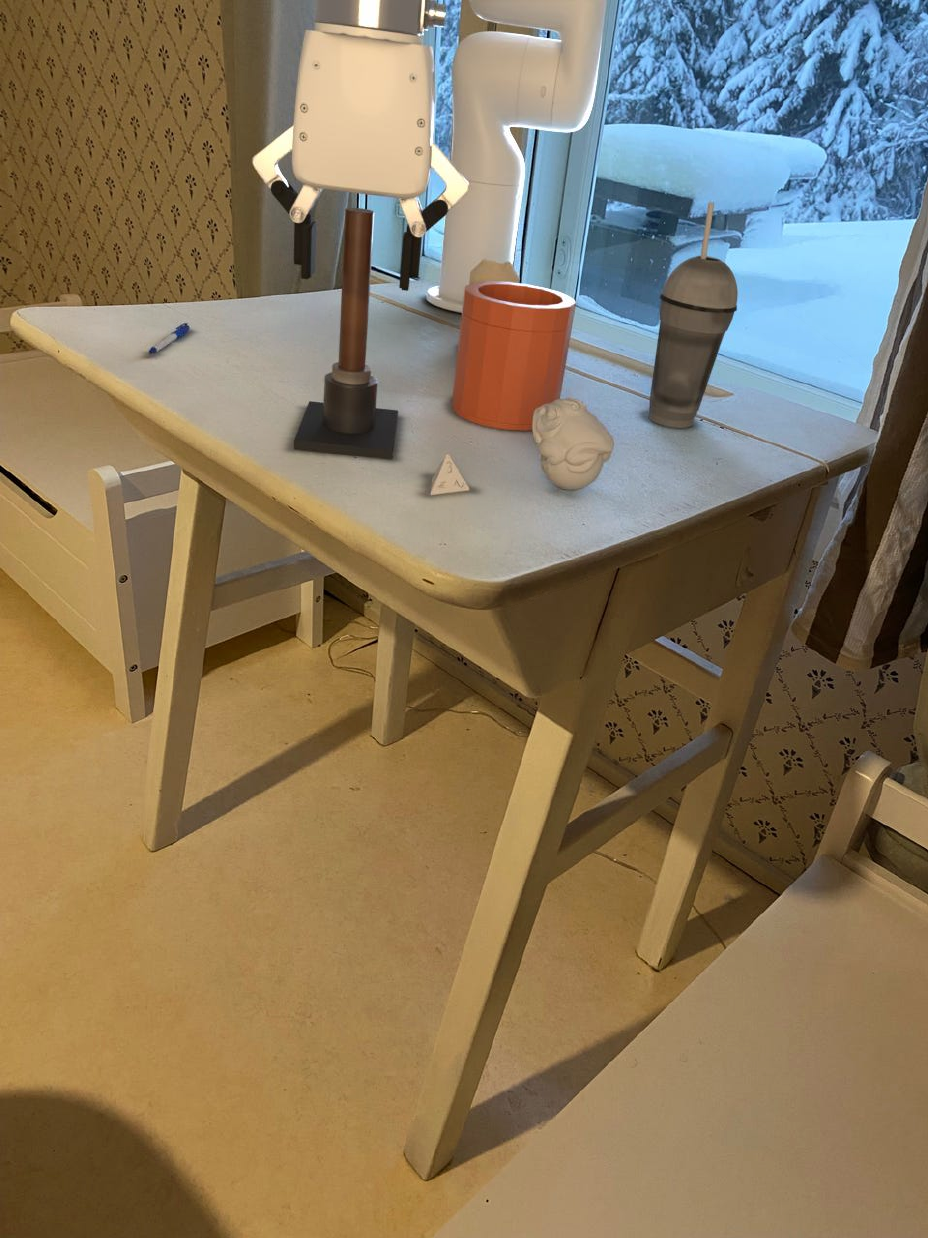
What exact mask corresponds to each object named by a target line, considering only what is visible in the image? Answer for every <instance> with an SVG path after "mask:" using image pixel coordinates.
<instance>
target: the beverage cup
mask: <svg viewBox="0 0 928 1238" xmlns="http://www.w3.org/2000/svg"><path fill="white" fill-rule="evenodd" d="M714 208H715V202H710V201H709V202H708V205H707V211H706V217H705V223H704V224H705V225H704V231H703V236H702V244H701V249H700V255H697V256H693V257H690V258H687V259H685V260H684V261H682V262H680V263H679V264H678V265H676V267H675V268H674V269H673V270H672V271H671V272H670V274H669V275H668V277H667V278H666V280H665V282H664V285H663V288H662V291H661V293H660V295H659V299H660V304H659V329H658V336H657V343H656V351H655V358H654V365H653V366H654V367H653V372H652V380H651V387H650V394H649V406H648V407H649V408H648V414H647V418H648V419H649V420H650V421H651V422H653V423H656V424H657V425H660V426H664V427H668V428H676V429H685V428H687V429H688V428H691V427H692V426H693V424H694V421H695V419H696V416H697V414H698V411H699V409H700V407H701V404H702V400H703V398H704V395H705V392H706V389H707V387H708V383H709V380H710V378H711V374H712V371H713V369H714V366H715V363H716V360H717V357H718V355H719V351H720V348H721V345H722V343H723V341H724V338H725V337H724V336H725V334H726V332H727V331H728V330H729V327H730V326H731V323H732V321H733V318H734V315H735V312H737V311H738V305H737V304H738V296H739V295H738V294H739V290H738V283H737V281H736V278H735V274H734V272H733V270H732V269H731V268H730V266H729V265H727V263H725V262H724V261H723V260H721V259H719V258H717V257H714V256H708V248H709V242H710V235H711V228H712V222H713V214H714Z"/></svg>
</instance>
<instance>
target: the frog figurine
mask: <svg viewBox="0 0 928 1238" xmlns="http://www.w3.org/2000/svg"><path fill="white" fill-rule="evenodd" d="M531 431H532V436H533V439H534V444H536V445H538V446H537V450H538V453H539V455H540V466H541V469H542V472H543V474H544V476H545V477H546V478H547V479H548V481H549V482H550V483H551V484H553V485H554V486H556V487H558V488H559V489H563V490H567V491H576V490H581V489H584V488H585V487H588V486H589V485H591V484H592V483H594V482H595V481H596V479H598V477H599V475H600V474H601V472H602V470H603V468H604V467H603V466H604V465H605V464H604V463H606V462H608V461H609V459H610V458H611V456H612V453H613V450H614V446H615V441H614V438H613V436H612V435H611V433H610V432H609V431H608V429H607V427H606V426H605V425H604V423H603V422H601V420H599V419H598V417H597V416H596V415H595V414H594V413H592V412H591V411H589V410H588V409H587V405H586V404H585V403H584V402H583V401H580V400H579V399H577V398H575V397H564V398H560V399H557V400H555V401H553V402H552V403H548V404H544V405H543V406H541V407H538V408H537V409H536V410H535V411H534V414H533V422H532V430H531Z"/></svg>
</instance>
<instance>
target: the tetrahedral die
mask: <svg viewBox="0 0 928 1238" xmlns="http://www.w3.org/2000/svg"><path fill="white" fill-rule="evenodd" d="M430 485H431V486H430V496H438V495H446V494H454V493H462V492H468V491H470V487H469V485H468V484H467V482H466V479H465V478H464V477H463V475H462V473H461V472H460V470H459V468H458V467H457V465H456V464H455V462H454V460H453V458H452V457H451V455H450V453H446V455H445V456H444V457H443V459H442V461H441V462H440V464H439V466H438V468H437V469H436V470H435V472H434V474H433V475H432V477H431V484H430Z"/></svg>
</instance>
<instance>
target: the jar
mask: <svg viewBox="0 0 928 1238" xmlns="http://www.w3.org/2000/svg"><path fill="white" fill-rule="evenodd" d="M576 307H577V302H576V301H575V298H573V297H571V296H569V295H568V294H565V293H563V292H561V291H558V290H554V289H551V288H548V287H543V286H537V285H534V284H529V283H528V284H527V283H521V282H519V283H512V282H498V281H484V282H474V283H471V284H469V285H466V286H465V290H464V300H463V309H462V313H461V320H460V329H459V338H458V345H457V346H458V347H457V355H456V366H455V371H454V372H455V374H454V382H453V392H452V404H451V407H452V410H453V412H455V414H456V415H458V416H459V417H461V418H463V419H464V420H466V421H469V422H471V423H474V424H477V425H480V426H484V427H488V428H492V429H499V430H505V431H523V432H524V431H532V422H533V414H534V411H535V410H536V409H537V408H538V407H541V406H543V405H544V404H548V403H552V402H553V401H555V400H557V399H561V395H562V390H563V389H562V388H563V383H564V377H565V371H566V366H567V360H568V353H569V348H570V342H571V335H572V330H573V324H574V318H575V312H576Z"/></svg>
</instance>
